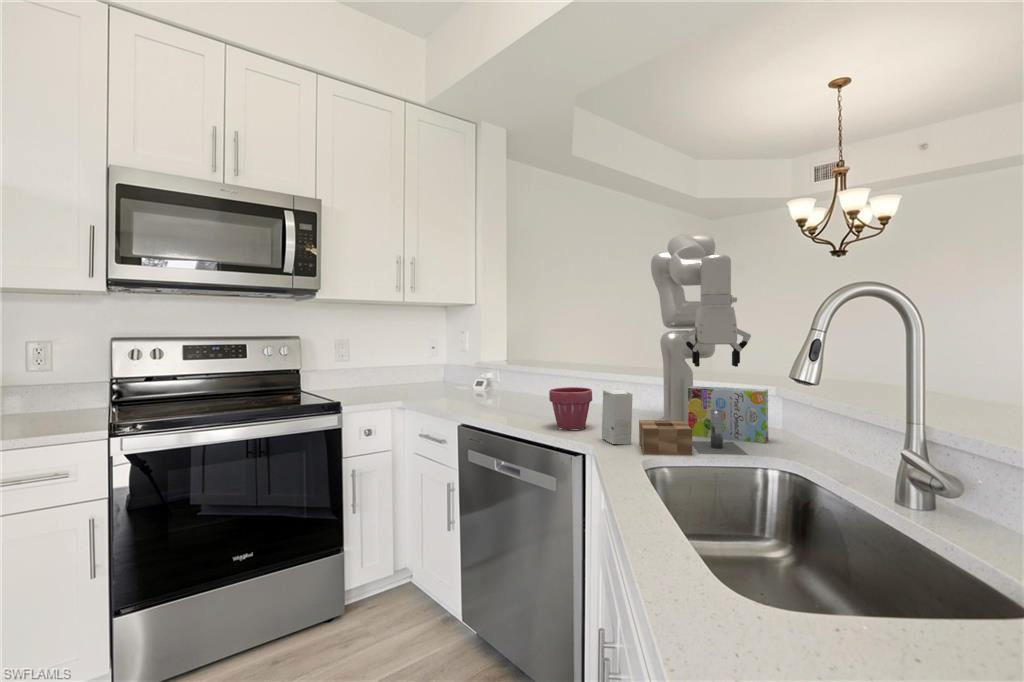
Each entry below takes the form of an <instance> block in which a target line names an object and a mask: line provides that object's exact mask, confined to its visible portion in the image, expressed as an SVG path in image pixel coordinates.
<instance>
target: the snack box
mask: <svg viewBox="0 0 1024 682" xmlns="http://www.w3.org/2000/svg"><path fill="white" fill-rule="evenodd" d="M710 410H722V411H723V440H731V441H738V442H739V441H740V442H747V443H758V444H767V442H768V441H769V390H768V389H765V388H743V387H727V386H723V387H721V386H720V387H719V386H697V385H693V386H692V387H689V388H688V426H689V427H690V428H691V429H692V437H693V436H695V437H700V438H701V437H702V438H710V439H711V412H710Z"/></svg>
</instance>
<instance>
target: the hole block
mask: <svg viewBox="0 0 1024 682" xmlns="http://www.w3.org/2000/svg"><path fill="white" fill-rule="evenodd" d="M638 432H639V433H638V437H639V438H638V440H639V441H638V444H639V448H640V447H641V448H640V450H641V453H642V455H643V454H644V455H650V456H651V455H654V456H659V455H660V456H662V455H663V456H691V457H692V456H693V446H692V441H693V436H692V429H691V428H690V427H689V426H688V425H687V424H686V423H685V422H684V421H678V420H659V419H658V420H657V419H639V420H638Z"/></svg>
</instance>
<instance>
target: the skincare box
mask: <svg viewBox="0 0 1024 682" xmlns="http://www.w3.org/2000/svg"><path fill="white" fill-rule="evenodd" d="M601 416H602V417H601V419H602V420H601V439H602V438H603V439H605V440H606V441H605V440H604V441H605V442H607V441H608V442H607V443H609V442H610V443H609V444H611V443H612V444H624V445H631V444H632V424H633V423H632V422H633V393H632V392H628V391H627V390H623V389H602V414H601ZM603 439H602V440H603ZM630 443H631V444H630ZM612 444H611V445H612Z"/></svg>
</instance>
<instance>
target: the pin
mask: <svg viewBox="0 0 1024 682" xmlns="http://www.w3.org/2000/svg"><path fill="white" fill-rule="evenodd" d="M710 412H711V438H710V441H711V448H714V449H722V448H723V442H724V441H723V440H724V439H723V411H722V410H710Z"/></svg>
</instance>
